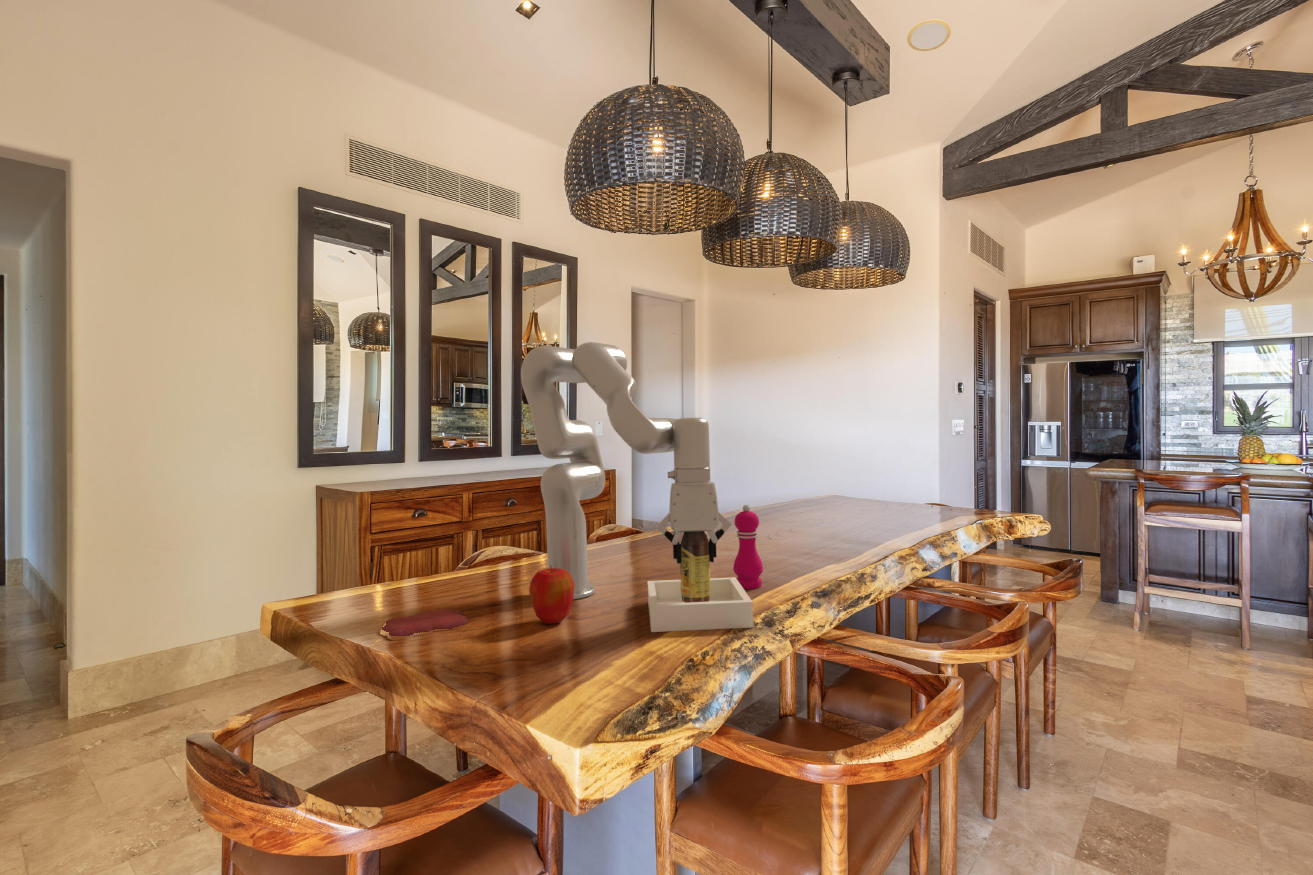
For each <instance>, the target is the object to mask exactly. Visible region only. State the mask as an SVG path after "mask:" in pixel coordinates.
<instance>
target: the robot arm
mask: <svg viewBox="0 0 1313 875" xmlns="http://www.w3.org/2000/svg"><path fill="white" fill-rule="evenodd" d="M627 360H628V359H627V357H626V355H625V353H624V351H623V350H622V349H621V348H619V347H618V346H616V345H613V344H607V343H600V342H593V341H591V342H590V341H589V342H585V343H582V344H579V345H578V346H577V347H576V348H574V349H573V348H566V347H562V346H561V347H560V346H555V345H554V346H553V345H547V346H546V345H544V346H537V347H534V348H533V349H531V350H530V351H529V352H528V353H527V354H526V356H525V357H524V359H523V361H522V364H521V368H520V381H521V386H522V389H523V392H524V394H525V398H526V401H527V403H528V406H529V411H530V415H531V421H532V425H533V428H534V433H535V437H536V442H537V446H538V450H539V451H540V454H541V455H542V456H543V457H545V458H546V459H550V460H559V459H560V460H561V459H569V461H570V462H562V463H558V464H554V465H551V466H550V467H548V468H547V469H545V471H544V472H543V474H542V476H541V479H540V491H541V495H542V500H543V503H544V511H545V512H544V513H545V524H546V526H545V527H546V528H545V529H546V545H547V546H546V548H547V550H546V551H547V568H551V567H552V568H559V569H564V570H566V571H567V572H568V573H569V574H570V575H571V576H572V579H573V581H574V583H575V587H574V597H573V600H578V599H583V598H587V597H589V596H591V595H593V594H594V593H595V591H596V588H595V585H593V584H591V583H589V575H588V574H589V571H588V547H587V546H588V540H587V522H586V515H585V513H584V509H583V507H582V505H581V503H580V501H583V500H584V501H585V500H591V499H593V498H596V497H598V496H599V495H601V494H602V492H603V491H604V488H605V485H606V474H605V468H604V464H603V460H602V455H601V451H600V446H599V443H598V438H597V435H596V433H595V432H594V429H593V428H592V426H590V425H589V424H588V423H587V422H586V421H583V420H579V419H570V418H569V417H568V413H567V410H566V408H567V407H566V405H565V400H564V398H563V397H562V395H561V393H560V392H559V390H558V389H557V387H556V386H555V385H554V383H556V382H557V383H568V384H570V383H571V384H583V383H585V384H587V385H588V386H589V387H590V389H591V390H592V391H594V393H595V394H596V395H597V396H598V397H599V398H600V399H601V401H603V403H604V404H605V405H606V414H607V417H608V419H609V420H608V421H609V423H610V425H611V427H612V428H613V430H614V431H615V433H616V434H617V435H618V436H619V437H620V438H621V439H622V440H623V441H624V442H625V444H626V445H628V447H630V448H631V449H632V450H634V451H635V452H636V453H640V454H643V455H646V454H647V455H648V454H659V453H660V454H661V453H671V452H673V467H674V468H673V470H671V471H667V479H671V480H674V482H673V483H671V486H670V494H669V495H670V496H669V505H668V506H669V508H668V509H669V511H668V513H667V514H666V515H665V517H664V518H663V519H661V521H660V522H659V523H657V525H656V529H657V530H658V531H659V532H660V533H661V534H662V535H664V536H665V538H666V539H667V540H668V541H670V542H671V543H672V553H673V554H672V558H673V560H675V561H676V563H677V565H679V564H680V563H681V549H680V544H681V542H680V541H679V540H680V538H681V536H682V533H684V532H700V531H704V532H707V534H708V535H707V536H709V537H708V540H709V553H710V563H715V560H714V558H717V543H718V542H719V540H720V539H721V537H723V536H724V535H725V533H726V532H727V531H728V530H729V529H730V528H731V526H732V523H731V522H730V521H729V520H728V519H726V517H724V516H723V515H722V514H721V513H720V512H719V505H718V496H717V488H716V484H715V482H714V481H711V457H710V453H711V452H710V425H709V422H708V420H707V419H706V418H704V417H683V418H682V417H681V418H670V417H647V416H646V415H645V414H644V413H643V412H642V411H641V410H640V409H639V407H637V405H636V404H635V403H634V402H633V400H632V398H633V395H634V394H635V392H636V389H637V382H636V380H635V379H634V377H633V376H631V374H630V373H629V372H628V371H627V367H628V362H627ZM720 523H721V526H720V527H719V525H720ZM668 524H669V525H670V529H671V531H673V533H671V532H670V531H669V530H668V529H667V528H666V526H667V525H668ZM715 530H716V531H715ZM550 565H551V567H550ZM532 578H533V577H531V578H529V583H530V584H531V580H532Z"/></svg>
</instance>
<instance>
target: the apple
mask: <svg viewBox="0 0 1313 875" xmlns="http://www.w3.org/2000/svg"><path fill="white" fill-rule="evenodd" d="M550 567H551V565H550ZM531 578H532V580H531V584H530V585H529V587H528V590H529V596H530V601H531V605H532V607H533V610H534V613H535V616H536V618H538V619H539V620H540V621H541V622H543V623H544V624H547V625H548V624H549V625H551V624H552V625H553V624H557V623H561V622H562V621H564V620H565V618H567V617H568V616H569V615H570V611H571V609H572V605H573V602H574V599H573V597H574V587H575V583H574V581H573V579H572V576H571V575H570V574H569V573H568V572H567V571H566V570H564V569H559V568H552V567H551V568H548V567H546V568H543V569H540V570H537V572H536V573H535V574H534V575H533V577H531Z"/></svg>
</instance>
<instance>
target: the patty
mask: <svg viewBox="0 0 1313 875" xmlns="http://www.w3.org/2000/svg"><path fill="white" fill-rule="evenodd" d="M462 613H463V612H462V611H461V610H459V609H452V608H451V609H450V608H449V609H445V608H444V609H436V610H430V611H424V612H420V613H417V614H413V615H407V616H399V617H398V616H397V617H394V618H390V619H388V620H386V621H385V622H386V625H385V626H384V627H381V628H382V630H384V631H386V632H389V635H391V636H410V635H413V634H414V633H418V632H419V633H420V632H429V631H431V630H435V629H452V628H455V627H459V626H461V625H464V624H466V623H467V622H469V619H468V618H467V617H466V616H465V615H464V614H463V615H462ZM467 624H468V623H467ZM467 624H466V625H467ZM464 626H465V625H464ZM452 630H453V629H452Z"/></svg>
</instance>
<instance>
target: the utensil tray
mask: <svg viewBox="0 0 1313 875" xmlns="http://www.w3.org/2000/svg"><path fill="white" fill-rule="evenodd" d="M736 578H737V576H736V577H735V576H733V577H710V600H709V601H708V602H690V603H685V602H683V601H682V594H681V579H669V580H668V579H667V580H666V579H664V580H661V579H660V580H647V602H648V615H649V624H650V632H651V633H657V632H659V633H660V632H662V633H663V632H679V631H681V632H682V631H683V632H684V631H706V630H708V631H709V630H725V629H726V630H729V629H747V628H754V604H753V603H754V602H753V600H752V599H751V597H750V595H748V593H747V592H746V589H743V587H742V586H741V585H740V583H739V582H738V580H737V579H736Z"/></svg>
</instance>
